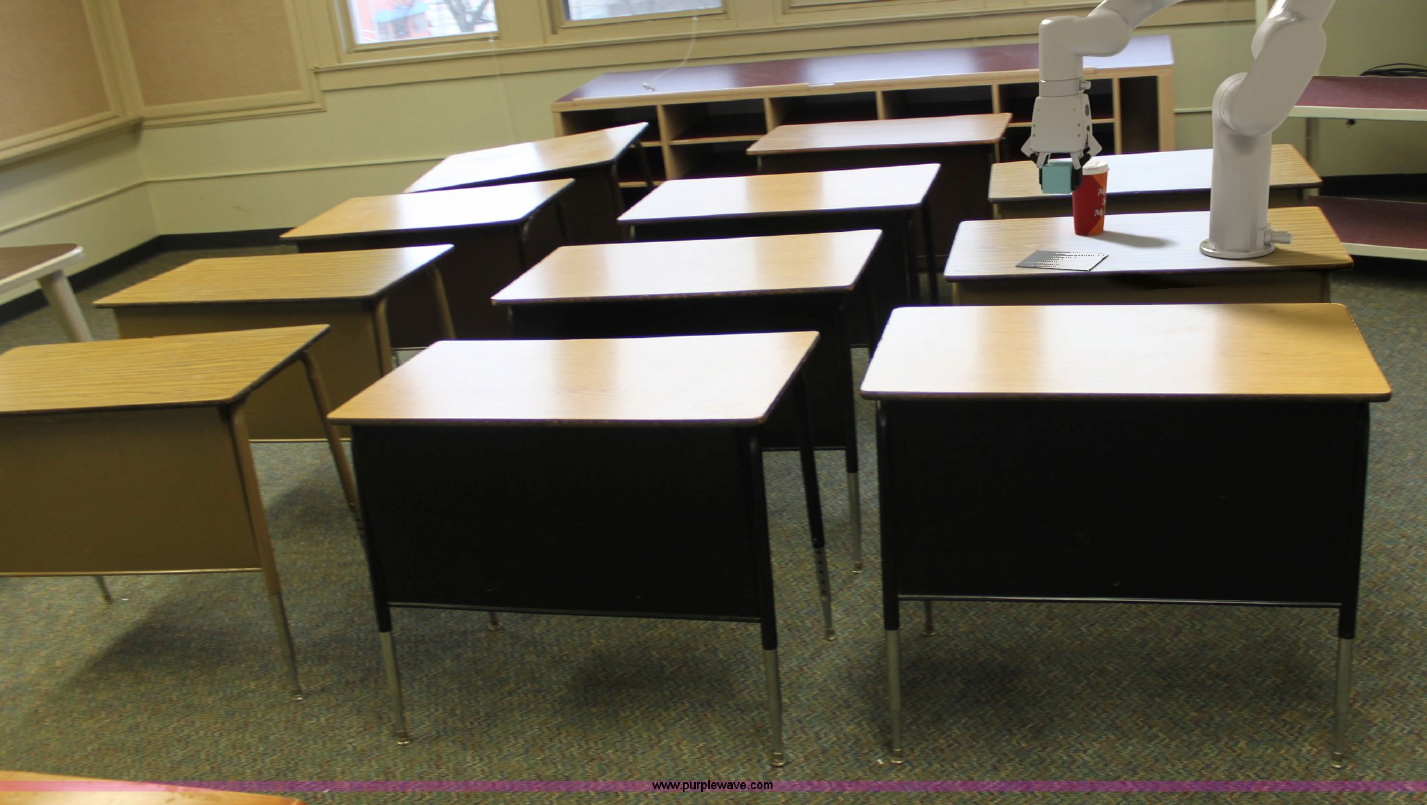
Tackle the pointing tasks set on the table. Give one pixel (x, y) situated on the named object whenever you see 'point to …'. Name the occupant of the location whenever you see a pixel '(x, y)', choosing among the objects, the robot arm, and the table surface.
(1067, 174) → the teal block
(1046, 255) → the slate mat
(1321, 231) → the table surface
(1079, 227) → the paper cup
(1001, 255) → the table surface
